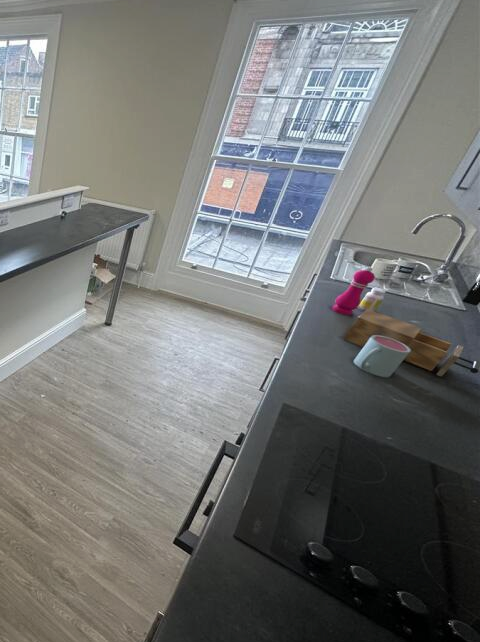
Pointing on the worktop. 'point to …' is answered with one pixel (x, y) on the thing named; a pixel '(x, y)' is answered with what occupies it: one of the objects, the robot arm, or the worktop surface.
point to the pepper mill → (353, 292)
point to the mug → (381, 355)
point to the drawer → (435, 354)
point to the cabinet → (380, 329)
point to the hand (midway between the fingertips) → (471, 299)
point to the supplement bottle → (372, 300)
